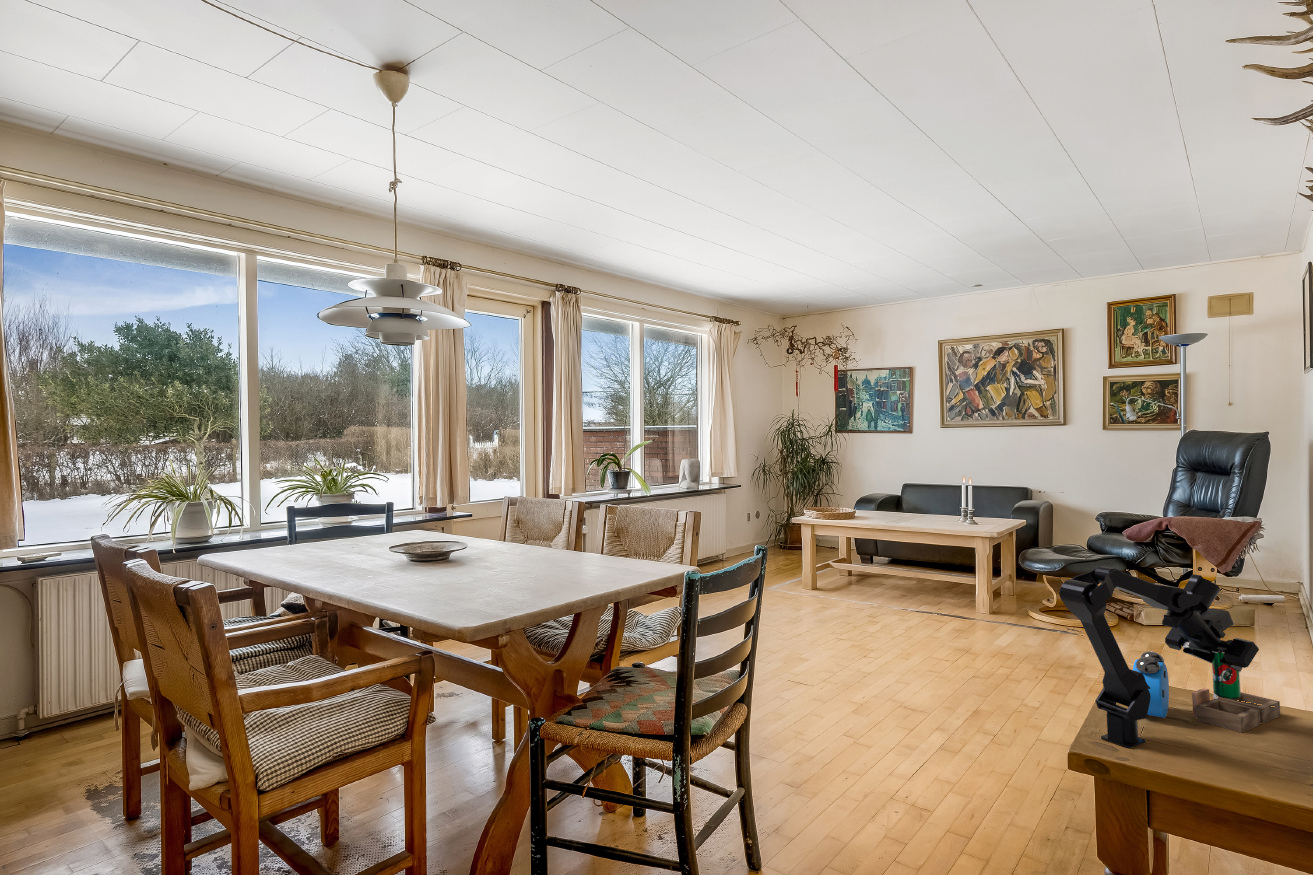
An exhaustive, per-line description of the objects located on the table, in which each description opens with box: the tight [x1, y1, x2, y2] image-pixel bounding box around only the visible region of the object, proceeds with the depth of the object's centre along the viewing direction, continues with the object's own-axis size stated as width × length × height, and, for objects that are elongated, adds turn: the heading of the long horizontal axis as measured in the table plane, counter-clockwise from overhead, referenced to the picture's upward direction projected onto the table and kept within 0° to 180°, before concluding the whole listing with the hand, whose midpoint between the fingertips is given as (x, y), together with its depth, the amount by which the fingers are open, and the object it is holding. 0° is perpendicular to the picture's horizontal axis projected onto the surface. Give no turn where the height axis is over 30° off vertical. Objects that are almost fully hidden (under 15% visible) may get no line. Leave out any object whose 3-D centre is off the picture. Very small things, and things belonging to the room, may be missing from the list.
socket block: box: [1191, 687, 1281, 733], centre depth 171 cm, size 19×10×6 cm, turn 117°
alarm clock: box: [1132, 650, 1170, 719], centre depth 174 cm, size 13×6×15 cm, turn 137°
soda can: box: [1211, 650, 1242, 699], centre depth 168 cm, size 5×5×12 cm
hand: (1229, 667), depth 168 cm, fingers closed on soda can, 5 cm apart
